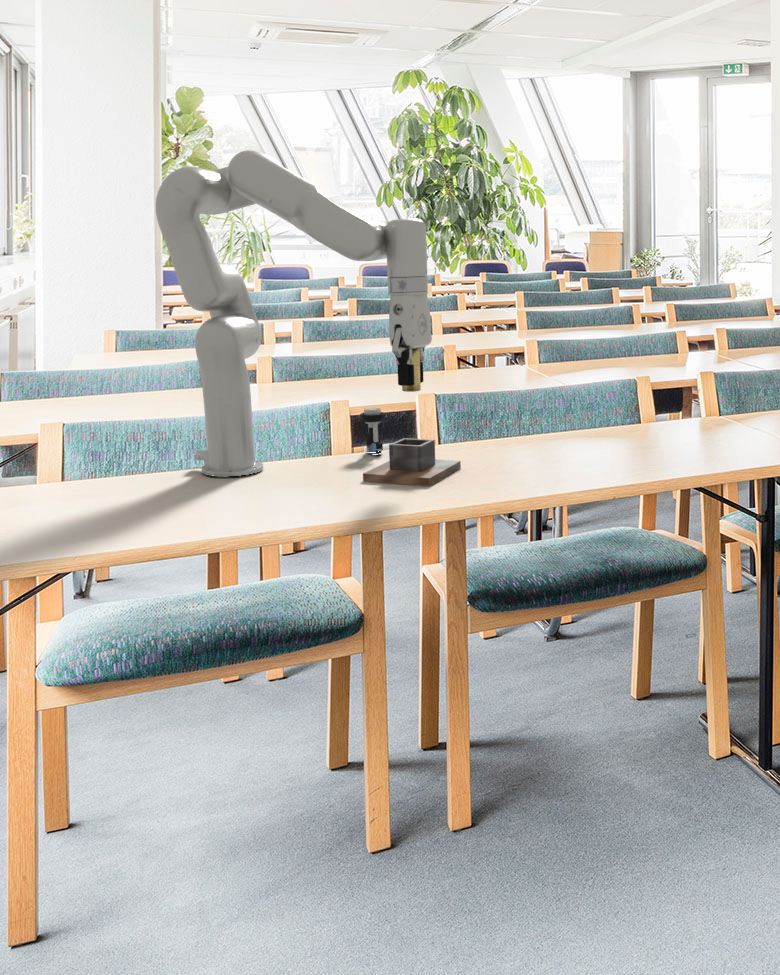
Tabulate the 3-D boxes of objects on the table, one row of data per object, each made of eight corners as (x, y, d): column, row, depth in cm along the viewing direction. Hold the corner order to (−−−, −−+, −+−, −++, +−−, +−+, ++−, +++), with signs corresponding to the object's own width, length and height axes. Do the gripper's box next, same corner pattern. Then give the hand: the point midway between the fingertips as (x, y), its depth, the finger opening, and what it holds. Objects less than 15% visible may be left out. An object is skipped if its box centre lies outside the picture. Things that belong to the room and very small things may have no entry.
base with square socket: (363, 480, 181) (361, 448, 179) (397, 464, 195) (396, 433, 193) (429, 486, 175) (428, 452, 173) (460, 468, 189) (460, 436, 187)
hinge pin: (399, 391, 180) (397, 344, 178) (406, 388, 183) (405, 342, 181) (416, 391, 179) (414, 344, 176) (423, 389, 182) (422, 342, 180)
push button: (392, 455, 203) (390, 410, 201) (369, 458, 201) (367, 412, 199) (380, 450, 209) (379, 406, 207) (358, 453, 207) (356, 408, 205)
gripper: (407, 288, 167) (411, 390, 172) (442, 284, 182) (445, 378, 186) (370, 289, 171) (374, 389, 175) (407, 285, 185) (410, 378, 189)
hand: (410, 382), depth 181 cm, fingers closed on hinge pin, 3 cm apart
